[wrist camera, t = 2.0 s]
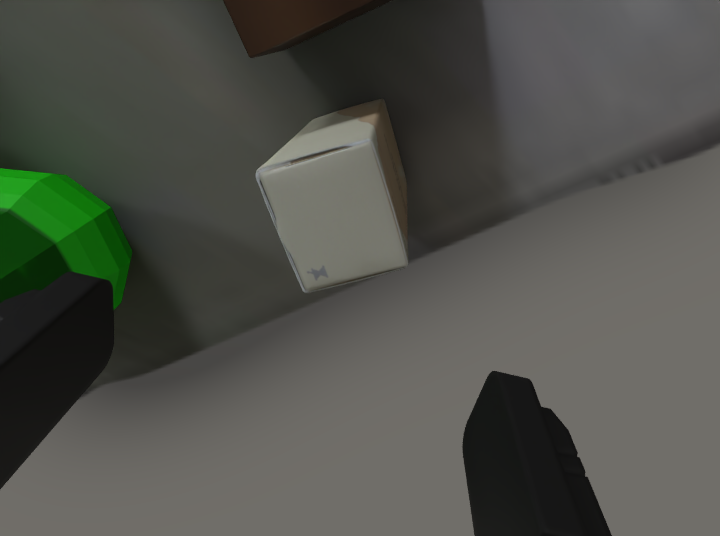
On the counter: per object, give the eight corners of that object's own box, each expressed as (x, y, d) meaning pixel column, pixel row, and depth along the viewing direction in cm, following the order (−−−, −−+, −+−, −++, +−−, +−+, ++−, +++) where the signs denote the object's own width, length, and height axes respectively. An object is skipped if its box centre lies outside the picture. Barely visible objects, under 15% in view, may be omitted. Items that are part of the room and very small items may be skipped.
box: (408, 185, 27) (413, 277, 17) (336, 204, 28) (303, 302, 18) (382, 91, 25) (372, 135, 15) (306, 115, 26) (249, 172, 16)
